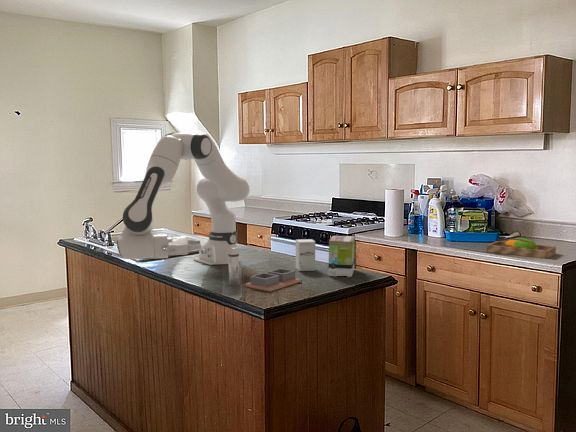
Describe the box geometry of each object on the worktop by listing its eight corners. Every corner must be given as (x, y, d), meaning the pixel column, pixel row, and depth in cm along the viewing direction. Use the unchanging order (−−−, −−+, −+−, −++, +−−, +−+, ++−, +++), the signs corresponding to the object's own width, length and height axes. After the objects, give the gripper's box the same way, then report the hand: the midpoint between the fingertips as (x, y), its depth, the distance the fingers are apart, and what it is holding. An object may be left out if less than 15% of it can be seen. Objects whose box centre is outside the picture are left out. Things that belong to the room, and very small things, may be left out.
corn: (530, 240, 253) (499, 234, 271) (528, 256, 253) (498, 249, 272) (542, 241, 255) (511, 235, 274) (540, 256, 256) (510, 249, 275)
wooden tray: (486, 252, 267) (486, 245, 266) (496, 247, 278) (496, 241, 278) (547, 258, 249) (547, 251, 249) (555, 253, 261) (555, 246, 260)
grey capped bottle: (226, 284, 206) (225, 248, 204) (234, 282, 209) (233, 246, 207) (234, 286, 203) (233, 249, 201) (241, 284, 206) (241, 248, 205)
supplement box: (298, 271, 227) (298, 242, 225) (295, 268, 234) (295, 239, 233) (315, 270, 228) (315, 241, 227) (312, 267, 235) (311, 238, 234)
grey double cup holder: (245, 286, 202) (245, 275, 202) (276, 277, 216) (276, 267, 216) (269, 291, 195) (269, 280, 194) (300, 282, 209) (300, 271, 208)
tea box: (352, 277, 216) (353, 241, 214) (327, 276, 217) (327, 240, 216) (354, 269, 230) (355, 235, 229) (331, 268, 232) (331, 234, 230)
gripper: (161, 242, 189) (201, 240, 191) (163, 234, 208) (199, 232, 211) (162, 259, 189) (201, 258, 192) (164, 250, 209) (200, 248, 212)
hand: (200, 244), depth 202 cm, fingers open, 8 cm apart
